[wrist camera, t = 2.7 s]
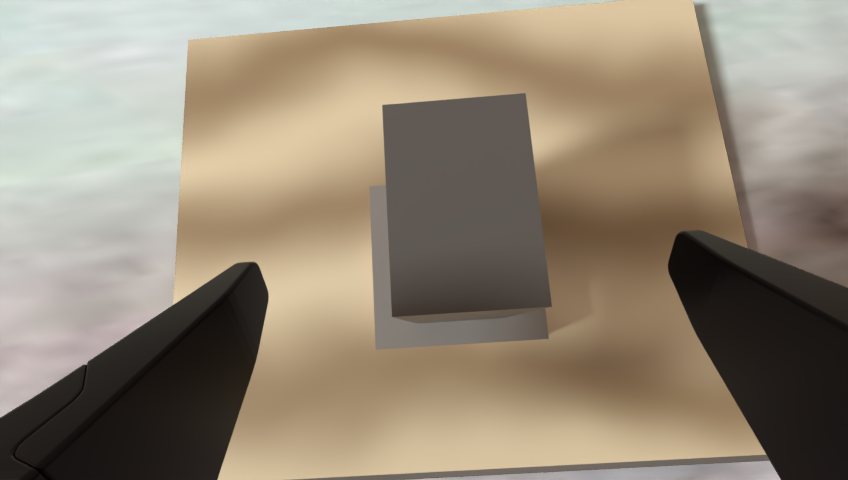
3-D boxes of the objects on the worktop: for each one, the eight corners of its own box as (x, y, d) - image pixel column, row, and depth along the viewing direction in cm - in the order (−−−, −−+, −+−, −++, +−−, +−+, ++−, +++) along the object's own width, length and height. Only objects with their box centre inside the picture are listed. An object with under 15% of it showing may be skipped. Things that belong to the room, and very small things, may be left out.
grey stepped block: (538, 338, 17) (640, 345, 8) (382, 347, 17) (313, 365, 8) (521, 189, 18) (592, 52, 9) (376, 200, 18) (311, 77, 9)
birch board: (781, 456, 17) (812, 468, 15) (172, 488, 18) (147, 502, 16) (683, 6, 21) (701, -17, 19) (195, 50, 22) (177, 30, 20)
